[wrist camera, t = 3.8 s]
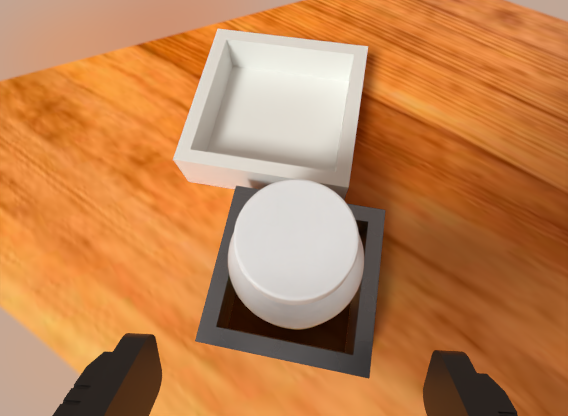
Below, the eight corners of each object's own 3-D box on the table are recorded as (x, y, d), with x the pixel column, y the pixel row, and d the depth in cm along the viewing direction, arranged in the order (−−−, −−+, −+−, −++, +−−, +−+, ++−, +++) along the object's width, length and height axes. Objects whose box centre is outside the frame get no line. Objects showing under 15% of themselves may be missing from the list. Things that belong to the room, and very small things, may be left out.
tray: (359, 79, 24) (368, 46, 22) (341, 206, 21) (348, 187, 18) (226, 62, 25) (217, 28, 23) (188, 181, 22) (172, 159, 19)
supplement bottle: (248, 239, 21) (209, 164, 12) (336, 232, 21) (368, 152, 11) (251, 333, 19) (208, 333, 10) (348, 326, 19) (397, 319, 10)
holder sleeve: (373, 226, 21) (385, 210, 18) (357, 371, 18) (369, 378, 15) (244, 204, 21) (236, 185, 19) (210, 340, 19) (195, 341, 16)
